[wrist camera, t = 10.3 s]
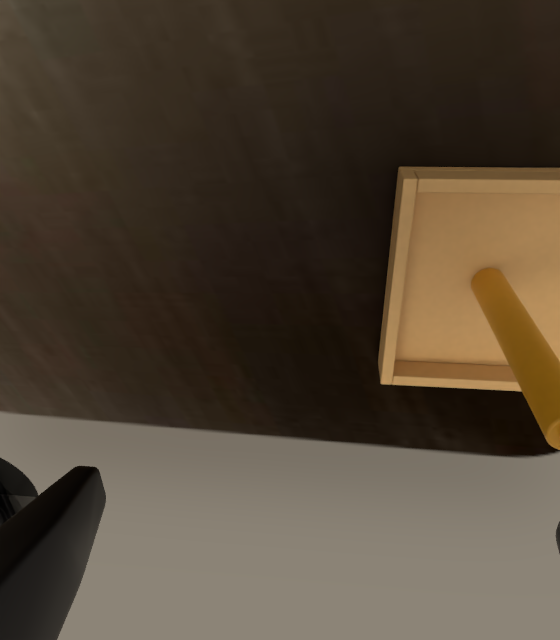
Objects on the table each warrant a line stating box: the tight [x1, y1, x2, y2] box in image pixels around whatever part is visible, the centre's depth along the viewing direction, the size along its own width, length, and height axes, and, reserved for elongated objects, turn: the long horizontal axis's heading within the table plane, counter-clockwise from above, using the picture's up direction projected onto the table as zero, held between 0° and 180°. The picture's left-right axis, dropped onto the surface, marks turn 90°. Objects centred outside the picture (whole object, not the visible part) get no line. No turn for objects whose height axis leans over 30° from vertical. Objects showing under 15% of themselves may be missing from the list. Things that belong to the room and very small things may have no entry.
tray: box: [378, 167, 560, 391], centre depth 19 cm, size 11×9×2 cm
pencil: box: [471, 268, 560, 450], centre depth 16 cm, size 1×1×10 cm
